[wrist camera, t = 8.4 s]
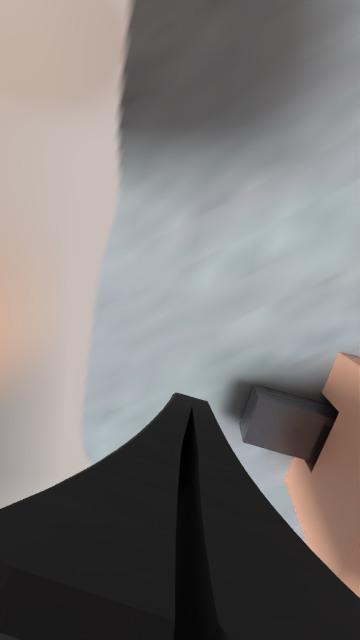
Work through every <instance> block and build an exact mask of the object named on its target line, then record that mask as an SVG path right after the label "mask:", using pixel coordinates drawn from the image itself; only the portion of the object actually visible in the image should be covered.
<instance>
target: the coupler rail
mask: <svg viewBox="0 0 360 640" xmlns="http://www.w3.org/2000/svg"><path fill="white" fill-rule="evenodd" d="M338 414H339V411H338V410H337V409H336V408H335V407H334V406H330V405H327V404H323V403H319V402H316V401H312V400H308V399H305V398H301V397H297V396H294V395H290V394H287V393H283V392H279V391H276V390H272V389H268V388H265V387H261V386H257V385H253V387H252V390H251V393H250V396H249V399H248V402H247V405H246V407H245V410H244V413H243V416H242V419H241V422H240V430H241V435H242V440H243V442H244V443H248V444H251V445H255V446H258V447H262V448H265V449H269V450H272V451H276V452H279V453H282V454H286V455H289V456H293V457H296V458H300V459H303V460H307V461H310V462H314V463H316V462H317V460H318V458H319V455H320V453H321V451H322V449H323V447H324V445H325V442H326V440H327V438H328V436H329V434H330V431H331V429H332V427H333V425H334V423H335V421H336V418H337V416H338Z"/></svg>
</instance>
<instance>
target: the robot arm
mask: <svg viewBox="0 0 360 640" xmlns="http://www.w3.org/2000/svg"><path fill="white" fill-rule="evenodd" d="M0 640H360V598H359V597H358V596H357V595H356V594H355V593H354V592H353V591H352V590H351V589H350V588H349V587H348V586H347V585H346V584H345V583H343V582H342V581H341V580H340V579H339V578H338V577H337V576H336V575H335V573H334V572H333V571H332V570H331V569H330V568H329V567H328V566H327V565H326V564H325V563H324V562H323V561H322V560H321V559H320V558H319V557H318V556H317V555H316V554H315V553H314V552H313V551H312V550H311V549H310V548H309V547H308V546H307V545H306V543H305V542H304V541H303V540H302V539H301V538H300V537H299V536H298V535H297V534H296V533H295V532H294V530H293V529H292V528H291V527H290V526H289V525H288V523H287V522H286V521H285V520H284V519H283V518H282V516H281V515H280V514H279V513H278V512H277V511H276V509H275V508H274V507H273V506H272V505H271V503H270V502H269V501H268V500H267V499H266V497H265V496H264V495H263V493H262V492H261V491H260V489H259V488H258V487H257V485H256V484H255V483H254V481H253V480H252V479H251V477H250V476H249V475H248V473H247V472H246V470H245V469H244V467H243V466H242V464H241V463H240V461H239V460H238V458H237V457H236V455H235V453H234V452H233V450H232V448H231V447H230V445H229V443H228V441H227V440H226V438H225V436H224V434H223V432H222V430H221V428H220V426H219V424H218V422H217V420H216V418H215V416H214V414H213V412H212V410H211V408H210V405H209V404H208V402H207V401H204V400H201V399H197V398H194V397H190V396H187V395H183V394H180V393H175V394H173V395H172V397H171V399H170V401H169V402H168V403H167V405H166V406H165V407H164V408H163V410H162V411H161V412H160V413H159V414H158V415H157V416H156V417H155V418H154V419H153V420H152V421H151V422H150V423H149V424H148V425H147V426H146V427H145V428H144V429H142V430H141V431H140V432H139V433H138V434H137V435H136V436H134V437H133V438H132V439H131V440H129V441H128V442H127V443H125V444H124V445H123V446H121V447H120V448H119V449H117V450H116V451H114V452H113V453H111V454H110V455H108V456H107V457H105V458H103V459H102V460H100V461H99V462H97V463H95V464H94V465H92V466H90V467H89V468H87V469H85V470H83V471H81V472H80V473H77V474H76V475H74V476H72V477H70V478H68V479H66V480H64V481H62V482H60V483H58V484H56V485H55V486H53V487H50V488H48V489H46V490H44V491H42V492H39V493H37V494H35V495H32V496H30V497H27V498H25V499H23V500H20V501H18V502H16V503H13V504H11V505H9V506H6V507H4V508H1V509H0Z"/></svg>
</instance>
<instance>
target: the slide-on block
mask: <svg viewBox="0 0 360 640" xmlns="http://www.w3.org/2000/svg"><path fill="white" fill-rule="evenodd" d="M322 394H323V395H324V396H325V397H326V398H327V399H328V400H329V401H330V403H331V404H332V405H333V406H334V407H335V408H336V409H337V410H338V411H339V414H338V416H337V418H336V421H335V423H334V425H333V427H332V429H331V431H330V434H329V436H328V438H327V440H326V442H325V445H324V447H323V449H322V451H321V453H320V455H319V458H318V460H317V462H316V463H314V462H310V461H307V460H303V459H300V458H296V457H294V458H293V460H292V463H291V465H290V467H289V470H288V472H287V474H286V477H285V479H284V481H285V484H286V487H287V489H288V492H289V495H290V498H291V500H292V503H293V506H294V509H295V511H296V514H297V517H298V520H299V522H300V525H301V528H302V531H303V534H304V536H305V539H306V542H307V545H308V547H309V548H310V549H311V550H312V551H313V552H314V553H315V554H316V555H317V556H318V557H319V558H320V559H321V560H322V561H323V562H324V563H325V564H326V565H327V566H328V567H329V568H330V569H331V570H332V571H333V572H334V573H335V575H336V576H337V577H338V578H339V579H340V580H341V581H342V582H343V583H345V584H346V585H347V586H348V587H349V588H350V589H351V590H352V591H353V592H354V593H355V594H356V595H357V596H358V597H359V598H360V358H359V357H355V356H351V355H347V354H343V353H340V352H339V353H338V355H337V358H336V360H335V362H334V365H333V367H332V369H331V372H330V374H329V376H328V379H327V381H326V383H325V386H324V388H323V390H322Z"/></svg>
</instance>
